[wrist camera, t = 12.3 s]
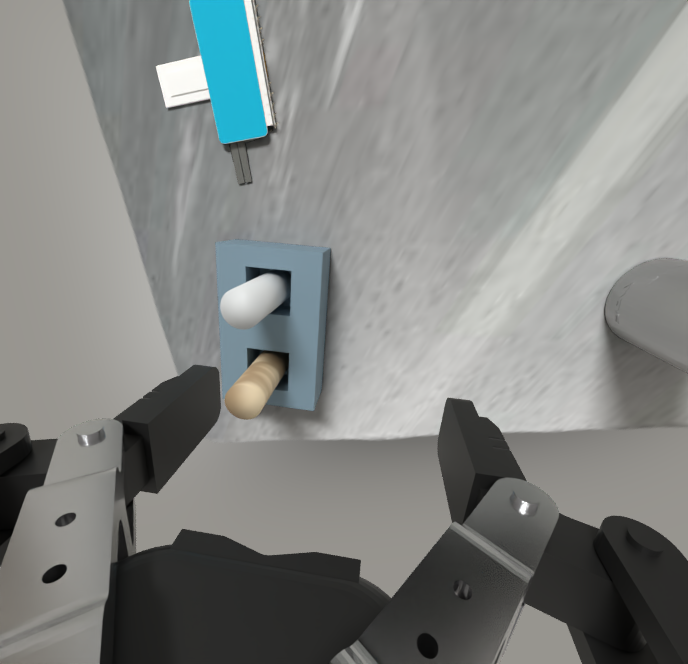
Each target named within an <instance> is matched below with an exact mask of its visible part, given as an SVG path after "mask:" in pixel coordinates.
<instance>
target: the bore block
mask: <svg viewBox="0 0 688 664" xmlns="http://www.w3.org/2000/svg"><path fill="white" fill-rule="evenodd" d="M215 245H216V266H217V287H218V308H219V329H220V350H221V371H222V392H223V399H225V395H226V393H227V391H228V390H229V389H230V388H231V387H232V386H233V385H234V383H235V382H236V381H237V380H238V379H239V378H240V377H241V375H242V374H243V373H244V372H245V371H246V370H247V369H248V368H249V366H250V365H251V364H252V363H253V362H254V361H255V360H256V358H257V357H258V356H259V355H260V354H261V353H262V352H263V350H269V351H277V352H285V353H289V367H288V369H287V370H286V372H285V373H284V375H283V377H282V378H281V380H280V381H279V383H278V385H277V386H276V388H275V389H274V391H273V393H272V394H271V396H270V398H269V399H268V401H267V402H266V405H274V406H281V407H288V408H296V409H303V410H310V411H314V409H315V407H316V404H317V401H318V399H319V396H320V393H321V391H322V379H323V363H324V347H325V331H326V316H327V300H328V284H329V269H330V253H331V248H325V247H314V246H303V245H292V244H282V243H271V242H260V241H249V240H239V239H235V240H228V241H222V242H215Z"/></svg>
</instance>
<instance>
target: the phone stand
mask: <svg viewBox="0 0 688 664" xmlns="http://www.w3.org/2000/svg"><path fill="white" fill-rule="evenodd" d="M189 5H190V9H191V14H192V18H193V23H194V28H195V32H196V37H197V41H198V46H199V50H200V55H201V56H197V57H193V58H189V59H184V60H180V61H176V62H171V63H167V64H163V65H159V66H156V69H157V73H158V77H159V81H160V85H161V89H162V92H163V96H164V100H165V104H166V107H167V108H171V107H176V106H181V105H185V104H190V103H195V102H199V101H204V100H209V99H210V100H211V105H212V109H213V114H214V118H215V123H216V127H217V132H218V136H219V140H220V142H221V143H223V144H228V143H229V145H230V149H231V154H232V159H233V162H234V166H235V170H236V175H237V180H238V184H241V183H245V182H246V183H247V182H252V180H251V175H250V170H249V165H248V156H247V151H246V146H245V142H249V141H255V138H260V137H265V136H266V135H267V133H268V131H272V130H273V128H267V126H270V125H273V126H274V127H275V128H276V126H277V125H276V124H277V123H276V122H275V115H274V110H273V104H274V103H273V104H272V99H271V96H272V95H271V94H272V93H270V87H269V86H270V85H269V84H270V83H269V81H268V73H267V67H266V61H265V55H264V52H263V46H262V44H263V43H262V41H263V40H264V39H263V40H261V35H260V33H261V32H260V29H259V23H258V22H259V20H258V18H259V17H257V9H256V7H257V6H258V5H257V6H256V5H255V0H190V1H189ZM245 6H246V7H245ZM261 29H262V28H261ZM252 45H253V46H252ZM271 83H272V82H271ZM259 84H260V85H259ZM275 114H276V113H275ZM240 161H241V163H242V168H243V172H242V168H241V163H240ZM243 173H244V177H243ZM244 178H245V182H244Z"/></svg>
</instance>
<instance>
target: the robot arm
mask: <svg viewBox="0 0 688 664" xmlns="http://www.w3.org/2000/svg"><path fill="white" fill-rule="evenodd" d="M605 316H606V320H607V324H608V325H609V327H610V329H611V330H612V331H613V332H614V333H615V334H616V335H617V336H618V337H620V338H622V339H623V340H625V341H627V342H629V343H631V344H633V345H635V346H637V347H638V348H640V349H642V350H644V351H646V352H648V353H650V354H651V355H653V356H655V357H657V358H659V359H661V360H663V361H665V362H667V363H669V364H671V365H672V366H674V367H676V368H678V369H680V370H682V371H684V372H686V373H688V261H686V260H679V259H670V258H663V259H655V260H651V261H648V262H644V263H642V264H640V265H638V266H636V267H634V268H633V269H631V270H630V271H628V272H627V273H625V274H624V275H623V276H622V277H621V278H620V279H619V280H618V281H617V282H616V284H615V285H614V287H613V288H612V289H611V291H610V293H609V296H608V298H607V302H606V306H605ZM220 409H221V401H220V381H219V371H218V369H217V368H216V367H210V366H202V365H193V366H192V367H190V368H189V369H188V370H186V371H185V372H184V373H183V374H181V375H180V376H177V377H174V378H172V379H170V380H167V381H165V382H162V383H161V384H160V385H158V386H157V387H156V388H154V389H153V390H152V392H149V393H147V394H146V395H145V396H143V399H139V400H138V401H137V402H136V403H134V404H133V405H131V406H130V407H129V408H127V409H126V410H124V411H123V412H122V413H120V414H119V415H118V416H116V417H115V418H114V419H95V420H90V421H86V422H83V423H81V424H78V425H76V426H73V427H71V428H70V429H68V430H67V431H65V432H64V433H63V434H62V435H61V436H60V437H59V438H58V439H47V440H30V436H29V432H28V429H27V427H26V426H25V425H22V424H18V423H6V424H0V664H500V662H501V660H502V657H503V655H504V653H505V650H506V648H507V646H508V643H509V641H510V639H511V636H512V634H513V632H514V630H515V627H516V624H517V622H518V620H519V618H520V616H521V613H522V611H523V609H524V606H525V604H528V605H530V606H532V607H534V608H536V609H538V610H540V611H542V612H544V613H546V614H548V615H550V616H552V617H554V618H556V619H558V620H560V621H562V622H564V623H566V624H567V626H568V628H569V631H570V633H571V636H572V638H573V641H574V644H575V646H576V649H577V652H578V654H579V657H580V659H581V662H582V664H688V561H687V559H686V558H685V557H684V556H683V554H682V553H681V552H680V551H679V550H678V549H677V548H676V547H675V545H673V544H672V543H671V542H670V541H669V540H668V539H667V538H665V537H664V536H663V535H661V534H660V533H658V532H657V531H655V530H654V529H652V528H650V527H649V526H646V525H645V524H643V523H640V522H638V521H636V520H633V519H630V518H627V517H622V516H610V517H607V518H605V519H604V520H603V522H602V524H601V526H600V529H598V528H595V527H593V526H590V525H587V524H585V523H582V522H579V521H577V520H574V519H571V518H569V517H566V516H564V515H562V514H560V513H559V511H558V508H557V506H556V504H555V502H554V501H553V500H552V499H551V497H550V496H549V495H548V494H546V493H545V492H544V491H543V490H541V489H540V488H538V487H537V486H535V485H533V484H531V483H529V482H527V481H526V479H525V477H524V475H523V473H522V471H521V469H520V467H519V466H518V464H517V462H516V460H515V458H514V456H513V454H512V452H511V451H510V450H509V447H508V445H507V443H506V441H505V439H504V437H503V435H502V433H501V431H500V429H499V428H498V427H497V426H496V425H495V424H494V423H493V422H491V421H490V420H489V419H488V418H486V417H479V416H478V413H477V411H476V409H475V407H474V405H473V402H472V401H470V400H463V399H455V398H447V400H446V403H445V408H444V413H443V417H442V422H441V427H440V432H439V437H438V457H439V462H440V467H441V472H442V477H443V481H444V486H445V491H446V495H447V500H448V505H449V509H450V514H451V519H452V524H451V525H450V527H449V528H448V529H447V530H446V532H445V533H444V534H443V535H442V536H441V538H440V539H439V540H438V541H437V543H436V544H435V545H434V546H433V547H432V549H431V550H430V551H429V552H428V554H427V555H426V556H425V557H424V559H423V560H422V561H421V562H420V563H419V565H418V566H417V567H416V568H415V570H414V571H413V572H412V573H411V575H410V576H409V577H408V578H407V579H406V581H405V582H404V583H403V585H402V586H401V587H400V588H399V589H398V591H397V592H396V593H395V595H394V596H393V597H392V598H390V597H389V596H388V595H387V594H386V593H385V592H383V591H382V590H381V589H380V588H379V587H377V586H375V585H374V584H372V583H371V582H369V581H367V580H365V579H363V578H361V577H359V575H360V563H361V560H358V559H352V558H346V557H341V556H335V555H329V554H323V553H318V552H309V553H298V554H284V555H269V556H268V555H263V554H260V553H258V552H256V551H254V550H252V549H250V548H247V547H246V546H243V545H241V544H239V543H237V542H235V541H233V540H231V539H229V538H227V537H225V536H220V535H214V534H209V533H203V532H197V531H191V530H186V529H182V530H181V532H180V533H179V535H178V536H177V538H176V539H175V541H174V543H173V544H172V545H165V546H160V547H155V548H151V549H148V550H145V551H142V552H139V553H136V505H135V499H134V497H135V496H136V495H137V494H138V493H139V492H140V491H144V492H150V493H156V494H157V493H158V492H159V491H160V490H161V489H162V487H163V486H164V485H165V484H166V483H167V481H168V480H169V479H170V478H171V477H172V475H173V474H174V473H175V472H176V471H177V469H178V468H179V467H180V466H181V464H182V463H183V462H184V461H185V460H186V458H187V457H188V456H189V455H190V453H191V452H192V451H193V450H194V449H195V448H196V446H197V445H198V444H199V443H200V442H201V440H202V439H203V438H204V437H205V436H206V434H207V433H208V432H209V431H210V430H211V428H212V427H213V426H214V425H215V423H216V422H217V420H218V418H219V414H220Z"/></svg>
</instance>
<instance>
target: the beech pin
mask: <svg viewBox="0 0 688 664" xmlns="http://www.w3.org/2000/svg"><path fill="white" fill-rule="evenodd" d="M288 367H289V353H285V352H277V351H269V350H263V352H262V353H261V354H260V355H259V356H258V357H257V358H256V360H255V361H254V362H253V363H252V364H251V365H250V366H249V368H248V369H247V370H246V371H245V372H244V373H243V374H242V375H241V377H240V378H239V379H238V380H237V381H236V382H235V383H234V385H233V386H232V387H231V388H230V389H229V390H228V391H227V393H226V395H225V405H226V407H227V409H228V410H229V412H230V413H231V414H233V415H234V416H236V417H237V418H240V419H246V420H247V419H253V418H255V417H256V416H258V415H259V414H260V412H261V410H262V409H263V407H264V406H265V404H266V402H267V401H268V399H269V398H270V396H271V394H272V393H273V391H274V389H275V388H276V386H277V385H278V383H279V381H280V380H281V378H282V377H283V375H284V373H285V372H286V370H287V369H288Z"/></svg>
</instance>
